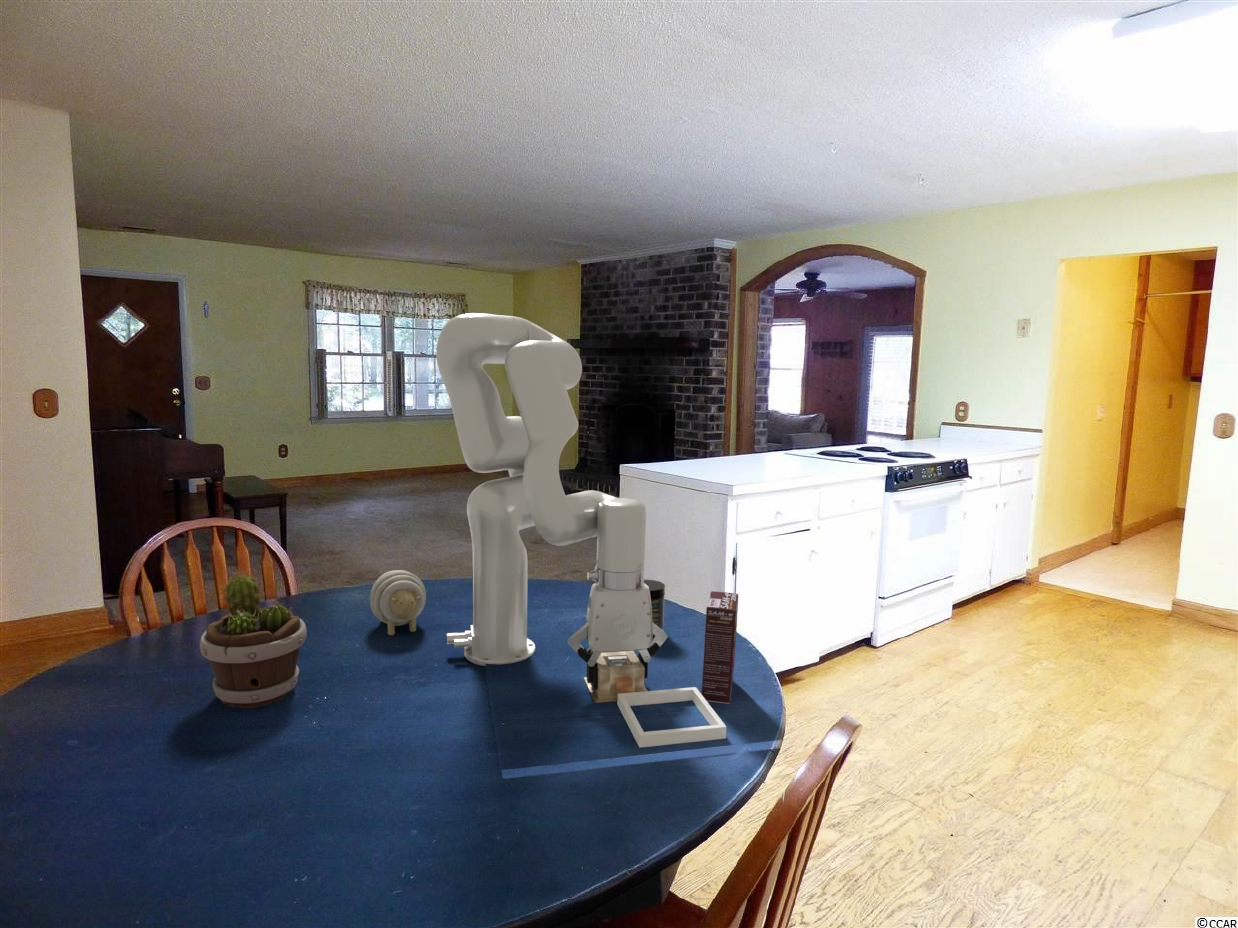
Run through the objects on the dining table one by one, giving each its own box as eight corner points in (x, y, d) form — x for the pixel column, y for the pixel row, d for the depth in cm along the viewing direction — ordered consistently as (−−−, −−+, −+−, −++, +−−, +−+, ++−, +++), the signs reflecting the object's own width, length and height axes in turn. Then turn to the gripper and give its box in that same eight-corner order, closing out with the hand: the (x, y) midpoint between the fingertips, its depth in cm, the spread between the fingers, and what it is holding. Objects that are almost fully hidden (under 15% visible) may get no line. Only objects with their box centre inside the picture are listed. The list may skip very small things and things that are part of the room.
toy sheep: (382, 645, 134) (380, 586, 132) (359, 616, 148) (358, 563, 146) (438, 635, 139) (438, 578, 138) (412, 608, 154) (411, 556, 152)
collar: (602, 703, 112) (603, 675, 112) (591, 679, 121) (591, 653, 120) (646, 699, 114) (647, 671, 113) (632, 675, 122) (633, 650, 122)
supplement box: (731, 708, 114) (736, 610, 111) (700, 705, 114) (704, 607, 112) (734, 684, 122) (739, 592, 120) (704, 681, 123) (709, 590, 120)
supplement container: (670, 640, 140) (672, 587, 139) (639, 646, 137) (641, 592, 135) (651, 628, 146) (652, 577, 144) (621, 634, 143) (623, 582, 141)
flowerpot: (327, 694, 115) (323, 570, 112) (221, 728, 103) (214, 591, 100) (287, 665, 124) (282, 550, 121) (187, 694, 113) (179, 568, 110)
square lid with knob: (595, 707, 113) (596, 671, 112) (583, 681, 121) (584, 648, 120) (651, 702, 115) (652, 667, 114) (636, 677, 124) (637, 644, 123)
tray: (639, 752, 100) (639, 735, 100) (617, 709, 112) (617, 693, 112) (725, 743, 103) (726, 726, 103) (695, 701, 115) (695, 686, 115)
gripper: (569, 587, 110) (567, 699, 112) (680, 582, 114) (675, 690, 116) (561, 572, 117) (559, 678, 119) (665, 568, 121) (661, 670, 124)
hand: (616, 683), depth 118 cm, fingers closed on collar, 7 cm apart
